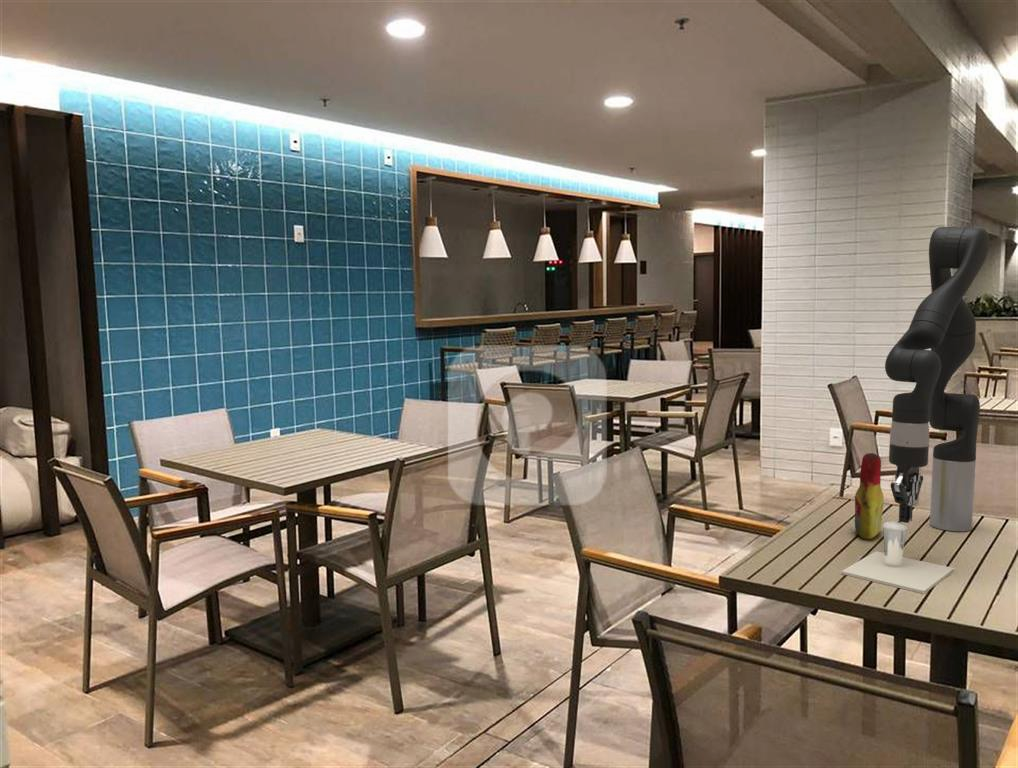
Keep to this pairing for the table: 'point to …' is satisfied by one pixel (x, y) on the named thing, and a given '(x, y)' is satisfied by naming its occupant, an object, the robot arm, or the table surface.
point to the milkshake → (894, 542)
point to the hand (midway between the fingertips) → (905, 521)
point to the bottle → (869, 498)
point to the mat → (899, 572)
